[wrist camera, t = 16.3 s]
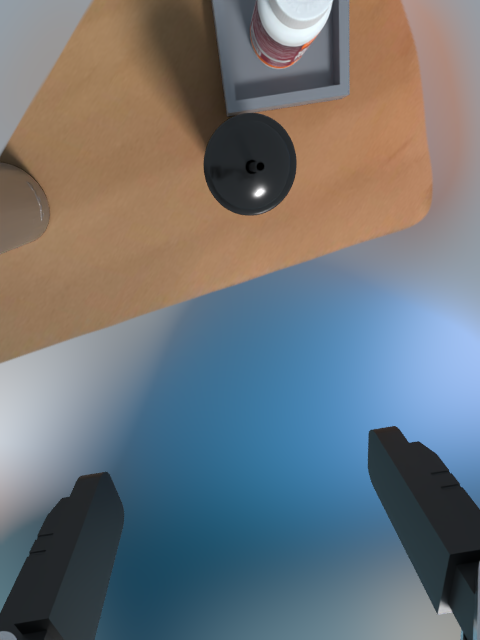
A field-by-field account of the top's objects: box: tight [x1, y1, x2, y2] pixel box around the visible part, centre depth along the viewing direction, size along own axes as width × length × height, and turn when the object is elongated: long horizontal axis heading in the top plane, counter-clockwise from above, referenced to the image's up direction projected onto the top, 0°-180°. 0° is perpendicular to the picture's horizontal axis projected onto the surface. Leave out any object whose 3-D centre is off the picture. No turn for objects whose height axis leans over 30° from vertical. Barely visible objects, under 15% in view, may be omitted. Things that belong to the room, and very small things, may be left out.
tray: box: [211, 0, 349, 117], centre depth 34 cm, size 13×13×2 cm
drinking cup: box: [204, 113, 296, 215], centre depth 31 cm, size 8×8×20 cm
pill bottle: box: [250, 0, 333, 69], centre depth 29 cm, size 6×6×11 cm
